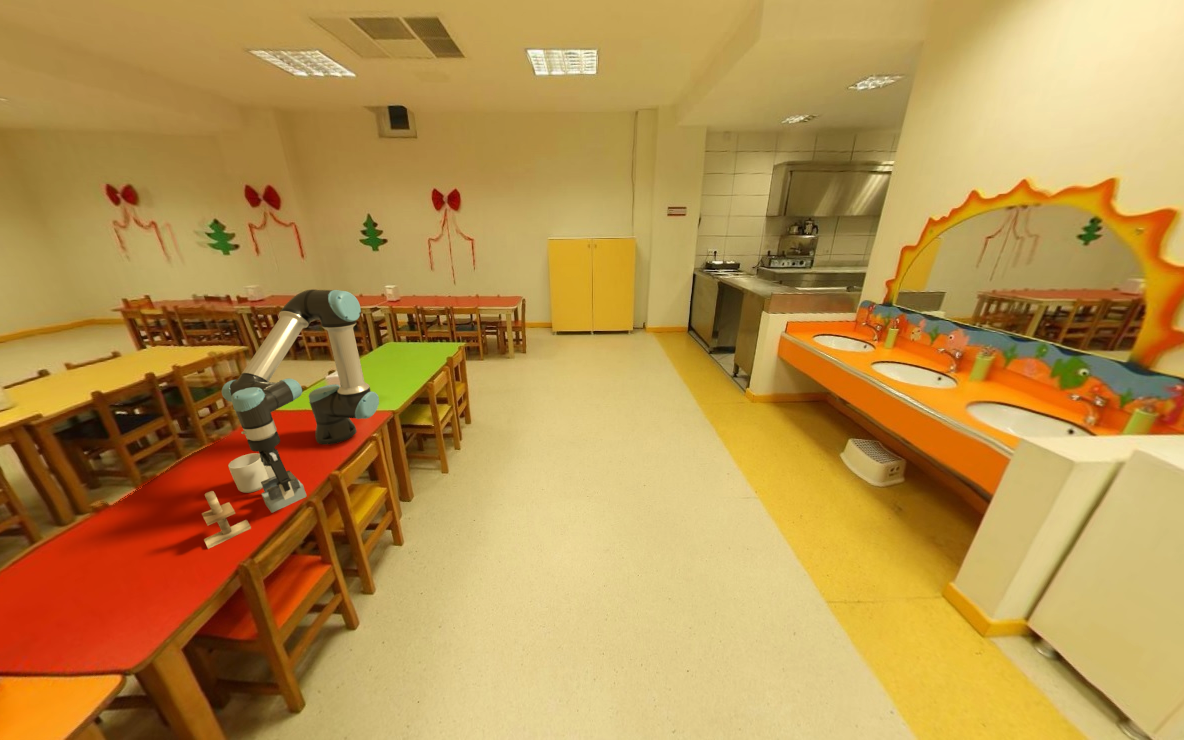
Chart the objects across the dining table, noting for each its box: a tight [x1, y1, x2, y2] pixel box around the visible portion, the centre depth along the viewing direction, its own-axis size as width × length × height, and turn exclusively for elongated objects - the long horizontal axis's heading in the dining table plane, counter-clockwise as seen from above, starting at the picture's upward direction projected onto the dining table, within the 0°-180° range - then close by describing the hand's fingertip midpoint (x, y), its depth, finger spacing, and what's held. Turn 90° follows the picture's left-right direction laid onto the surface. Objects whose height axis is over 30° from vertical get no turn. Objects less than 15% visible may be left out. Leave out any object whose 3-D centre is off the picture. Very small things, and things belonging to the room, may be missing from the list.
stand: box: [201, 490, 252, 550], centre depth 113 cm, size 10×6×16 cm, turn 143°
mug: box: [228, 452, 269, 494], centre depth 136 cm, size 12×9×11 cm
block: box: [261, 479, 308, 513], centre depth 129 cm, size 10×6×5 cm, turn 143°
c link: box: [261, 470, 300, 500], centre depth 127 cm, size 8×8×4 cm
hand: (282, 488), depth 128 cm, fingers open, 13 cm apart
